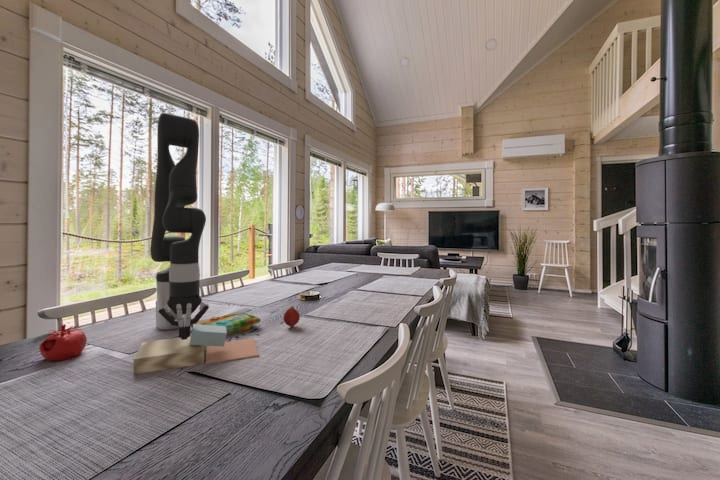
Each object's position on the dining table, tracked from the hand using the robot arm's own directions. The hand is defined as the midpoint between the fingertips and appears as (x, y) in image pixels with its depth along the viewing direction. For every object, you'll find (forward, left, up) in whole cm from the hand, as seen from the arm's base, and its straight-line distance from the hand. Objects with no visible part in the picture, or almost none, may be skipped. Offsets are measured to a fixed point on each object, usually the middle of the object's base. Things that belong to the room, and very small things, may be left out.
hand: (184, 338), depth 90 cm
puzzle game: (-7, +22, -6) cm, 23 cm away
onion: (+12, +34, -6) cm, 37 cm away
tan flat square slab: (+8, +9, -6) cm, 14 cm away
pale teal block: (+4, +5, 0) cm, 6 cm away
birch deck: (-2, -2, -6) cm, 6 cm away
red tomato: (-32, -14, -6) cm, 35 cm away
